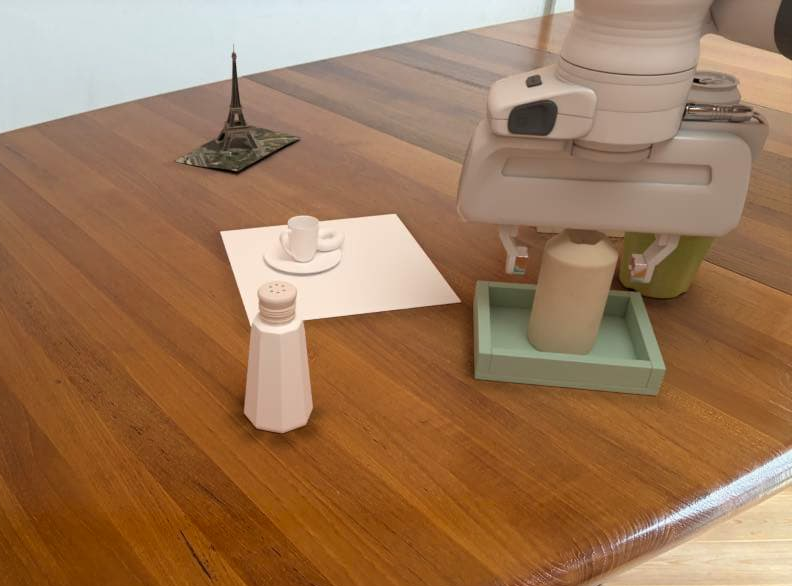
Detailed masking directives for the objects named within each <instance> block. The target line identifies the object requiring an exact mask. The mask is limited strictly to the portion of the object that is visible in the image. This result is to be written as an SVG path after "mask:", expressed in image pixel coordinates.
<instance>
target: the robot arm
mask: <svg viewBox="0 0 792 586" xmlns="http://www.w3.org/2000/svg"><path fill="white" fill-rule="evenodd" d="M573 4H574V5H573V14H572V19H571V22H570V26H569V28H568V31H567V33H566V35H565V37H564V39H563V41H562V43H561V47H560V49H559V50H560V51H559V56H558V62H555V63H553V64H550V65H546V66H544V67H539V68H536V69H532V70H529V71H526V72H522V73H518V74H514V75H510V76H506V77H503V78H500V79H498V80H496V81H494V82H493V83H492V85H491V86H490V89H489V91H488V94H487V98H486V99H487V100H486V117H485V118H483V119H482V120H481V121H480V122H479V123H477V126H476V127H475V128H474V130H473V132H472V134H471V136H470V139H469V142H468V145H467V149H466V152H465V155H464V158H463V162H462V167H461V171H460V174H459V180H458V185H457V190H456V191H457V193H456V202H455V207H456V211H457V213H458V215H459V216H460V217H461V219H462V220H463V222H465V223H467V224H486V225H498V227H497V229H498V237H499V240H500V242H501V244H502V245H503V247H504V250H505V253H506V258H505V259H506V260H505V274H507V275H526V272H527V265H528V262H529V252H528V246H520V245H517V242H516V240H515V238H517V236H518V235H519V231H520V227H521V226H522V227H535V228H536V227H553V228H570V229H586V230H603V231H620V232H637V233H654V235H655V238H656V240H655V241H654V242H653V243H652V244H651V245H650V246H649V247H648V249H647V250H646V251H645V252H644V253H643V254H632V255H631V258H630V265H629V266H628V269H627V277H628V278H629V282H637V283H650V281H651V277H652V274H653V271H654V268H655V265H658V264H659V263H660V262H661V261H662V260H663V259H664V258H665V257H667V256H668V255H669V254H670V253H671V252H672V251H673V250H674V249H675V248H677V245H678V242H679V239H680V236H681V235H688V236H705V237H715V238H723V237H725V236H727V235H728V234H730V232H732V231H733V230H734V229H735V228H736V227H738V225H739V223H740V221H741V218H742V215H743V211H744V208H745V205H746V199H747V195H748V191H749V185H750V179H751V173H752V172H751V171H752V166H753V165H754V164H755V163H756V162H757V161H758V160H759V159H760V158H761V155H762V153H763V150H764V148H765V145H766V142H767V139H768V136H769V131H770V124H769V122H768V120H767V118H766V117H765V116H764V115H763V114H762V113H760V112H758V111H755V110H754V109H755V108H754V107H753V106H752V105H749V104H744V103H743V104H740V103H739V104H734V105H731V106H727V105H716V104H709V103H690V102H689V103H687V100H688V96H689V93H690V89H691V86H692V82H693V79H694V75H695V72H696V70H697V68H698V64H699V61H700V56H701V39H702V38H703V37H704V36H706V35H710V34H711V35H714V36H715V35H716V36H719V37H722V38H723V39H725V40H728V41H731V42H733V43H737V44H741V45H745V46H748V47H752V48H755V49H759V50H762V51H766V52H769V53H774V54H777V55H781V56H782V57H784V58H786V59H787V60H789V61H792V0H573ZM752 118H753V119H755V120H752Z"/></svg>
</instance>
